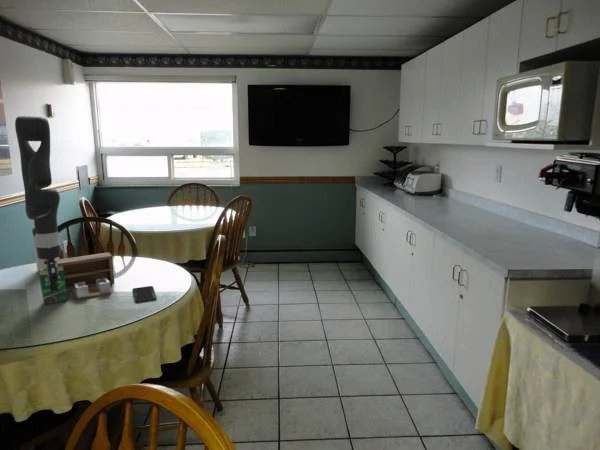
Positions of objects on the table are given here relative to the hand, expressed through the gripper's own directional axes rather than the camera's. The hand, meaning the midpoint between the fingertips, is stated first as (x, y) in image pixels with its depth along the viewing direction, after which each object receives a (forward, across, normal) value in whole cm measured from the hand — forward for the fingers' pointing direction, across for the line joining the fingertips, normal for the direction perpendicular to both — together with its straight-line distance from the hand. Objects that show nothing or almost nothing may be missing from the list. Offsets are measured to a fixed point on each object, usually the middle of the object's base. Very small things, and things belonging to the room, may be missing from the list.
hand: (53, 289), depth 160 cm
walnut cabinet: (+5, -6, +13) cm, 15 cm away
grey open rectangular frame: (+5, 0, +13) cm, 14 cm away
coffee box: (+5, 0, 0) cm, 5 cm away
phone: (+6, +12, +29) cm, 32 cm away
